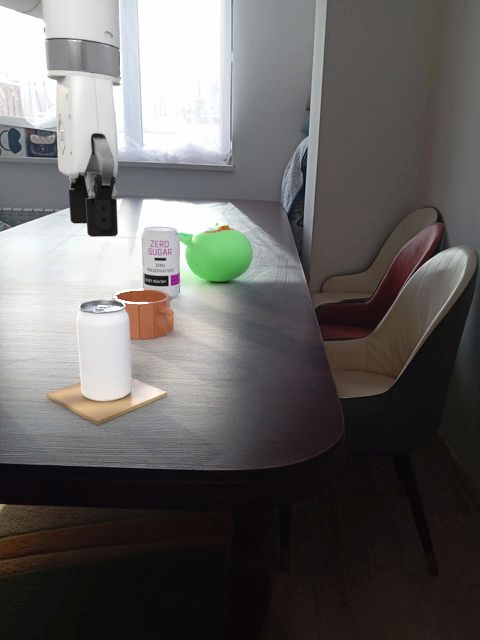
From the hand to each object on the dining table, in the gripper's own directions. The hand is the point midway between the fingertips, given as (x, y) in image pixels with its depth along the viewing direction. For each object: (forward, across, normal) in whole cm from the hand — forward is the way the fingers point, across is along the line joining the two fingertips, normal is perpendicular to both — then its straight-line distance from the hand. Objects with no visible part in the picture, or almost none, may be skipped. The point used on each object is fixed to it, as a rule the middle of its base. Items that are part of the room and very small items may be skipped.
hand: (93, 229), depth 61 cm
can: (+22, +1, +1) cm, 22 cm away
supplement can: (+23, -46, +24) cm, 57 cm away
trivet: (+22, +1, +1) cm, 22 cm away
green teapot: (+22, -56, +43) cm, 74 cm away
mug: (+22, -23, +14) cm, 34 cm away
